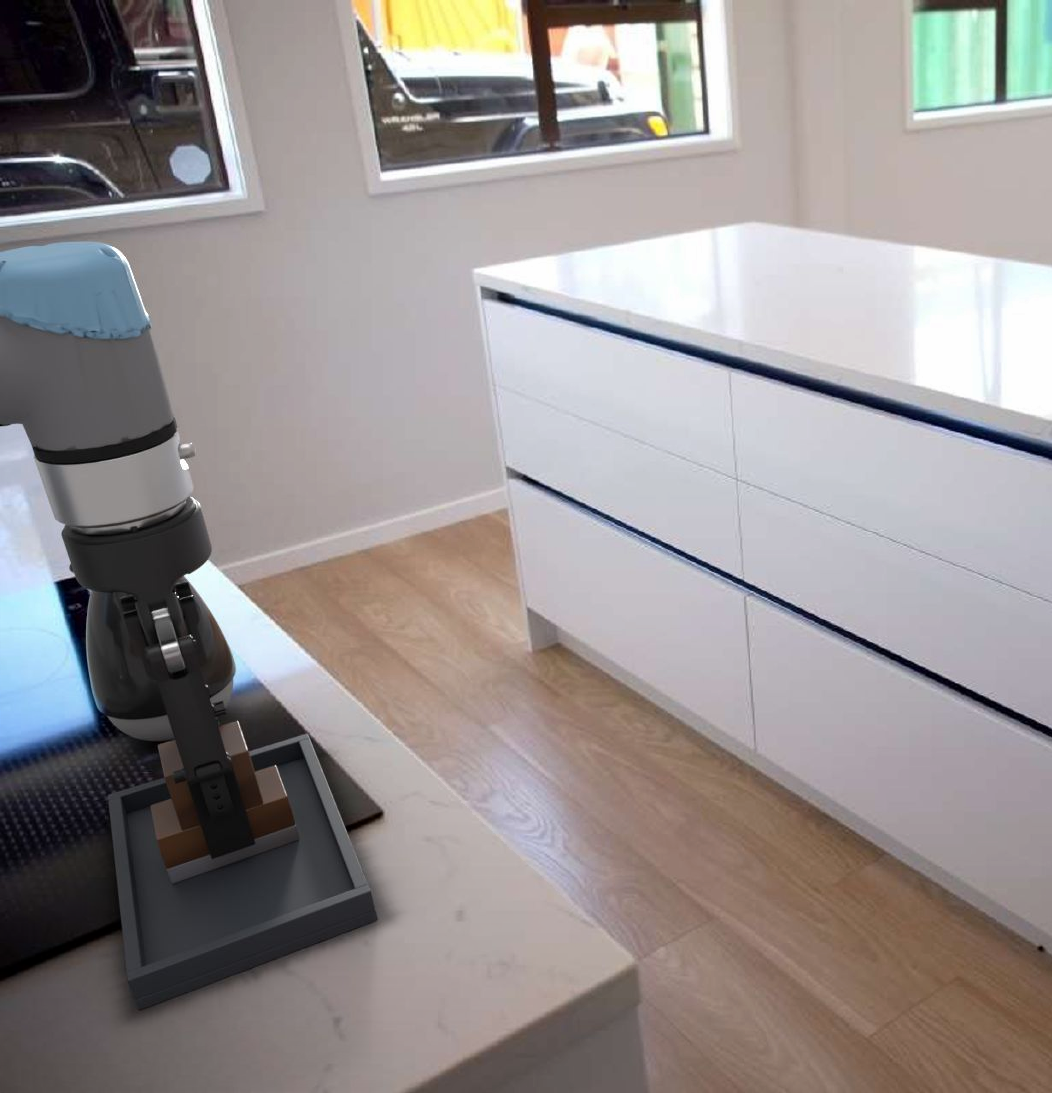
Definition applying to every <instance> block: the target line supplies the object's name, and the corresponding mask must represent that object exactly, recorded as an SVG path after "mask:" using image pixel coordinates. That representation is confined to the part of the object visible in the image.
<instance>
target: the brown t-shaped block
mask: <svg viewBox="0 0 1052 1093" xmlns="http://www.w3.org/2000/svg"><path fill="white" fill-rule="evenodd" d="M218 728H219V731H220V734H221V738H222V741H223V744H224V748H225V751H226V753H227V754H228V753H229V756H230V758H231V762H232V766H233V770H234V773H235V776H236V780H237V783H238V787H239V790H240V793H241V797H242V800H243V803H244V807H245V810H246V813H247V817H248V820H249V823H250V827H251V830H252V833H253V837H254V840H255V843H256V844H255V845H252V846H249V847H246V848H243V849H240V850H237V851H234V852H232V853H229V854H226V855H223V856H220V857H217V858H214V859H211V855H210V852H209V849H208V846H207V843H206V840H205V837H204V833H203V830H202V827H201V824H200V821H199V818H198V815H197V811H196V808H195V805H194V802H193V799H192V796H191V793H190V790H189V786H188V783H187V780H186V781H183V782H180V783H177V784H175V781H174V778H173V772H174V771H178V770H181V769H183V763H182V760H181V757H180V754H179V751H178V747H177V744H176V741H175V739H174V740H168V741H165V742H163V743H159V744H157V749H158V754H159V758H160V763H161V769H162V773H163V778H165V781H166V784H167V787H168V790H169V793H170V796H171V799H169V800H166V801H162V802H159V803H156V804H153V805H151V812H152V818H153V823H154V828H155V834H156V839H157V843H158V845H159V848H160V851H161V854H162V857H163V860H164V863H165V866H166V868H167V872H168V875H169V878H170V881H171V883H172V884H174V883H176V882H179V881H182V880H185V879H188V878H191V877H194V876H197V875H199V874H202V873H205V872H208V871H211V870H214V869H217V868H219V867H222V866H225V865H228V864H231V863H234V862H237V861H240V860H242V859H245V858H248V857H251V856H254V855H257V854H260V853H262V852H265V851H268V850H271V849H274V848H277V847H280V846H282V845H285V844H288V843H291V842H294V841H297V840H299V839H300V838H299V834H298V831H297V827H296V824H295V820H294V817H293V813H292V809H291V806H290V802H289V799H288V796H287V793H286V790H285V787H284V785H283V782H282V779H281V776H280V774H279V771H278V768H277V766H276V765H275V766H272V767H269V768H265V769H262V770H259V771H256V772H255V771H254V768H253V764H252V761H251V758H250V754H249V748H248V745H247V742H246V739H245V736H244V733H243V730H242V727H241V724H240V722H239V720H235V721H232V722H229V723H226V724H223V725H220V726H219V727H218Z"/></svg>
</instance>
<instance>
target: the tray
mask: <svg viewBox="0 0 1052 1093" xmlns="http://www.w3.org/2000/svg"><path fill="white" fill-rule="evenodd" d="M248 751H249V750H248ZM249 754H250V758H251V761H252V764H253V768H254V771H255V772H256V771H259V770H262V769H265V768H269V767H272V766H275V765H276V766H277V768H278V771H279V774H280V776H281V779H282V782H283V785H284V787H285V790H286V793H287V796H288V799H289V802H290V806H291V809H292V813H293V817H294V820H295V824H296V827H297V831H298V834H299V838H300V839H299V840H297V841H294V842H291V843H288V844H285V845H282V846H280V847H277V848H274V849H271V850H268V851H265V852H262V853H260V854H257V855H254V856H251V857H248V858H245V859H242V860H240V861H237V862H234V863H231V864H228V865H225V866H222V867H219V868H217V869H214V870H211V871H208V872H205V873H202V874H199V875H197V876H194V877H191V878H188V879H185V880H182V881H179V882H176V883H174V884H172V883H171V881H170V878H169V875H168V872H167V868H166V866H165V863H164V860H163V857H162V854H161V851H160V848H159V845H158V843H157V839H156V834H155V828H154V823H153V818H152V812H151V805H153V804H156V803H159V802H162V801H166V800H169V799H171V796H170V793H169V790H168V787H167V784H166V781H165V778H164V777H162V778H158V779H155V780H152V781H148V782H146V783H141V784H139V785H135V786H133V787H129V788H126V789H122V790H119V791H116V792H112V793H109V794H108V795H107V802H108V810H109V819H110V821H109V822H110V829H111V830H110V831H111V838H112V847H113V858H114V865H115V877H116V884H117V885H116V886H117V895H118V903H119V913H120V923H121V931H122V941H123V951H124V960H125V968H126V970H125V971H126V978H127V980H126V981H127V983H128V985H129V988H130V991H131V994H132V996H133V999H134V1002H135V1004H136V1007H137V1009H138V1011H142V1010H143V1009H146V1008H150V1007H152V1006H154V1005H155V1006H156V1005H157V1004H160V1003H162V1002H164V1001H168V1000H170V999H173V998H176V997H178V996H180V995H183V994H186V993H189V992H191V991H194V990H196V989H199V988H202V987H205V986H207V985H211V984H213V983H215V982H218V981H221V980H222V979H226V978H228V977H231V976H233V975H236V974H239V973H242V972H245V971H247V970H249V969H252V968H254V967H258V966H260V965H262V964H265V963H268V962H270V961H273V960H276V959H278V958H281V957H285V956H286V955H289V954H291V953H294V952H296V951H299V950H303V949H304V948H307V947H310V946H313V945H315V944H318V943H321V942H323V941H326V940H328V939H331V938H333V937H336V936H338V935H342V934H344V933H347V932H349V931H352V930H354V929H357V928H360V927H362V926H365V925H368V924H370V923H373V922H376V921H378V920H379V917H378V914H377V910H376V906H375V902H374V899H373V898H374V897H373V895H372V894H373V893H372V891H371V888H370V886H369V882H368V881H367V880H368V879H367V878H366V875H365V873H364V871H363V868H362V866H361V863H360V860H359V858H358V856H357V852H356V850H355V848H354V846H353V843H352V840H351V838H350V834H348V830H347V828H346V826H345V823H344V821H343V818H342V816H341V812H340V810H339V807H338V805H337V803H336V801H335V798H334V796H333V793H332V790H331V788H330V785H329V784H328V781H327V778H326V775H325V773H324V771H323V767H322V765H321V762H320V760H319V757H318V755H317V753H316V751H315V747H314V744H313V743H312V741H311V737H310V735H309V733H304V734H301V735H299V736H295V737H292V738H288V739H285V740H282V741H278V742H276V743H272V744H269V745H266V746H262V747H259V748H256V749H253V750H250V751H249Z"/></svg>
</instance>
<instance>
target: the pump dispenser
mask: <svg viewBox="0 0 1052 1093" xmlns="http://www.w3.org/2000/svg"><path fill="white" fill-rule="evenodd" d="M68 567H69V571H70V572H71V573H72V574H74V571H73V568H72V565H71V563H70V564H69V566H68ZM185 581H188V583H189V586H190V589H191V593H192V595H193V597H194V601H195V604H196V607H197V611H198V614H199V619H200V620H199V623H198V630H199V633H200V637H201V640H202V644H203V647H204V650H205V654H206V657H207V661H206V663H205V664H204V665H203V667H202V668H201V671H202V674H203V678H204V681H205V684H206V686H208V688H209V691H210V693H209V698H210V701H211V704H212V703H215V702H219V701H222V700H223V703H224V706H225V709H226V708H227V706H228V705H229V702H230V700H231V697H232V694H233V690H234V678H235V676H236V672H237V665H236V662H235V658H234V655H233V652H232V650H231V647H230V645H229V643H228V641H227V638H226V636H225V635H224V633H223V631H222V629H221V627H220V625H219V623H218V621H217V620H216V617H215V616H214V615H213V613H212V611H211V610H210V608H209V607H208V605H207V604H206V602H205V600H204V599H203V598H202V596H201V595H200V593H199V592H198V591H197V590H196V588H195V587H194V586H193V585H192V583H191V582H190V581H189V580H188V579H187V578H186V575H184V576H183V577H181V578H180V579H178V580H177V581H176V582H175V584H177V583H181V582H185ZM128 595H132V594H129V593H123V592H113V593H101V592H95V591H92V590H90V593H89V599H88V605H87V616H86V630H85V636H86V637H85V644H86V645H85V646H86V647H85V648H86V660H87V668H88V669H87V670H88V675H89V676H88V677H89V680H90V687H91V691H92V695H93V699H94V702H95V705H96V708H97V709H98V711H99V712H100V713H102V714H103V715H104V716H106V717H107V718H108V720H109V721H110V723H112V725H114V726H115V727H116V728H117V729H118V730H120V731H121V732H122V733H124V734H126V735H127V736H130V737H132V738H134V739H138V740H141V741H148V742H168V741H172V740H175V738H174V735H173V732H172V729H171V726H170V722H169V719H168V716H167V713H166V710H165V707H164V704H163V700H162V697H161V694H160V691H159V688H158V685H157V682H156V680H154V679H150V678H149V677H148V676H147V675H146V672H145V669H144V666H143V662H142V659H141V656H140V653H139V650H138V646H137V643H136V642H135V641H134V640H133V639H131V638H130V636H129V633H128V630H127V627H126V624H125V620H124V617H123V613H124V612H123V609H122V606H121V602H120V597H124V596H128ZM218 718H219V717H216V720H217V719H218Z"/></svg>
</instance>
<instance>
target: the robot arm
mask: <svg viewBox="0 0 1052 1093" xmlns="http://www.w3.org/2000/svg"><path fill="white" fill-rule="evenodd" d="M152 328H153V324H152V320H151V316H150V315H149V314H148V313H147V311H146V308H145V305H144V303H143V300H142V297H141V295H140V291H139V289H138V286H137V282H136V281H135V278H134V275H133V272H132V269H131V266H130V263H129V262H128V260H127V258H126V256H124V254H123V253H122V252H121V251H120V250H119V249H117V248H116V247H114V246H111V245H109V244H107V243H103V242H99V241H64V242H54V243H48V244H43V245H29V246H23V247H18V248H12V249H7V250H3V251H0V427H8V426H11V425H22V427H23V429H24V431H25V434H26V436H27V438H28V440H29V443H30V446H31V448H32V451H33V459H34V462H35V465H36V468H37V470H38V473H39V476H40V479H41V483H42V485H43V489H44V491H45V494H46V497H47V500H48V503H49V506H50V509H51V511H52V514H53V518H54V520H56V521H57V522H58V523H60V524H62V525H64V526H63V529H62V531H61V538H62V541H63V544H64V547H65V550H66V553H67V556H68V559H69V562H70V564H71V565H72V568H73V571H74V573H73V574H74V577H75V579H76V581H77V583H78V584H79V585H80V586H82V587H83V588H84V589H87V590H88V591H91V590H92V591H95V592H101V593H113V592H123V593H129V594H132V595H128V596H124V597H120V602H121V606H122V609H123V612H124V613H123V617H124V620H125V624H126V627H127V630H128V633H129V636H130V638H131V639H133V640H134V641H135V642H136V643H137V646H138V650H139V653H140V656H141V659H142V662H143V666H144V669H145V672H146V675H147V676H148V677H149V678H150V679H154V680H156V682H157V685H158V688H159V691H160V694H161V697H162V700H163V704H164V707H165V710H166V713H167V716H168V719H169V722H170V726H171V729H172V732H173V735H174V738H175V739H174V740H175V741H176V744H177V747H178V751H179V754H180V757H181V760H182V763H183V769H181V770H178V771H174V772H173V778H174V781H175V784H177V783H180V782H183V781H186V780H187V783H188V786H189V790H190V793H191V796H192V799H193V802H194V805H195V808H196V811H197V815H198V818H199V821H200V824H201V827H202V830H203V833H204V837H205V840H206V843H207V846H208V849H209V852H210V855H211V859H214V858H217V857H220V856H223V855H226V854H229V853H232V852H234V851H237V850H240V849H243V848H246V847H249V846H252V845H255V844H256V843H255V840H254V837H253V833H252V830H251V827H250V823H249V820H248V817H247V813H246V810H245V807H244V803H243V800H242V797H241V793H240V790H239V787H238V783H237V780H236V776H235V773H234V770H233V766H232V762H231V758H230V756H229V753H228V754H227V753H226V751H225V748H224V744H223V741H222V738H221V734H220V731H219V728H218V727H219V726H221V724H220V720H217V719H216V717H218V718H219V717H222V716H223V717H224V716H226V715H228V712H227V709H226V708H225V706H224V703H223V700H222V701H219V702H215V703H212V704H211V701H210V698H209V693H210V691H209V688H208V686H206V684H205V681H204V678H203V674H202V671H201V668H202V667H203V665H204V664H205V663H206V661H207V657H206V654H205V650H204V647H203V644H202V640H201V637H200V633H199V630H198V623H199V620H200V619H199V614H198V611H197V607H196V604H195V601H194V597H193V595H192V593H191V589H190V586H189V583H188V581H189V580H188V581H185V582H181V583H177V584H175V582H176V581H177V580H178V579H180V578H181V577H183V576H186V575H191V574H192V573H194V572H196V571H197V570H199V569H200V568H201V567H202V566H203V565H204V564H206V563H207V561H208V560H209V559H210V557H211V554H212V550H213V547H212V541H211V538H210V536H209V531H208V528H207V525H206V521H205V518H204V514H203V511H202V506H201V503H200V502H199V501H198V499H195V498H193V497H192V496H191V495H192V494H193V492H194V490H195V487H194V482H193V479H192V475H191V473H190V468H189V465H188V463H187V462H186V460H188V459H191V458H193V457H195V456H196V455H197V449H196V446H195V445H194V444H193V443H192V441H185V442H182V443H180V442H181V436H180V434H179V431H178V425H177V420H176V417H175V415H174V411H173V408H172V403H171V401H170V400H171V399H170V397H169V393H168V389H167V385H166V381H165V377H164V374H163V370H162V366H161V362H160V357H159V355H158V350H157V346H156V342H155V339H154V336H153V332H152Z"/></svg>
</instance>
